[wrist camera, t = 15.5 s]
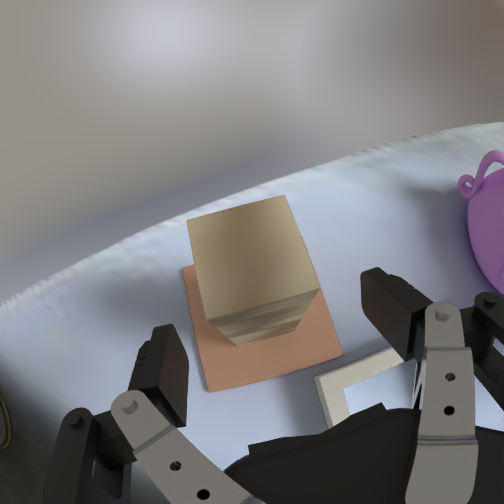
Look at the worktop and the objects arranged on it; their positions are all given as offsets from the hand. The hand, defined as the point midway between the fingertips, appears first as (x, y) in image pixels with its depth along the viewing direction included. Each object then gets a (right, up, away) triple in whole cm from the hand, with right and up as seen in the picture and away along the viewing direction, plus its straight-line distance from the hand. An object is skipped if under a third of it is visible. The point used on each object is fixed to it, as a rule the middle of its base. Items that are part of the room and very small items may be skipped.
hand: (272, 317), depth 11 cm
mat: (0, -3, +14) cm, 14 cm away
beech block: (0, -3, +13) cm, 14 cm away
